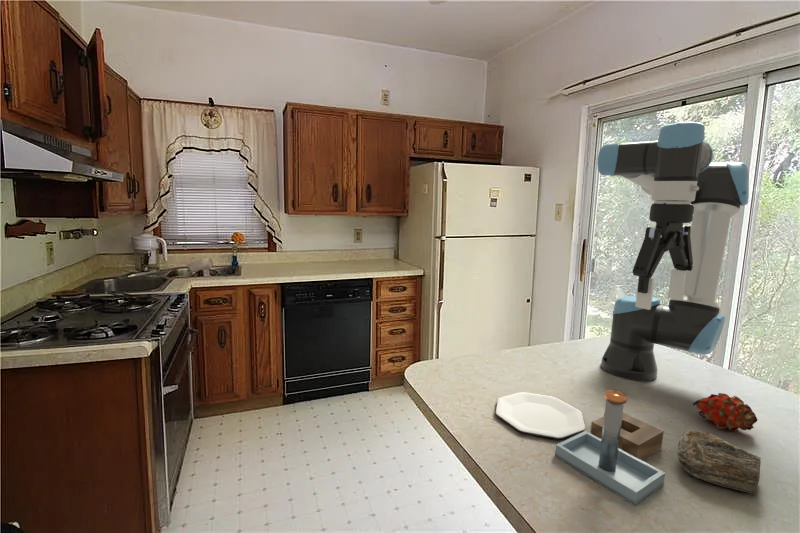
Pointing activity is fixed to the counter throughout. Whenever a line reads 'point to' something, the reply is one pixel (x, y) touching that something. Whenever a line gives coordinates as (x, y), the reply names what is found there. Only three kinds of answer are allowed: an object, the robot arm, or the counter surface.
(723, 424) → the dragon fruit
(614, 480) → the tray
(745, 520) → the counter surface
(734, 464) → the stone
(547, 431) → the plate
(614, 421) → the lock pin
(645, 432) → the block
